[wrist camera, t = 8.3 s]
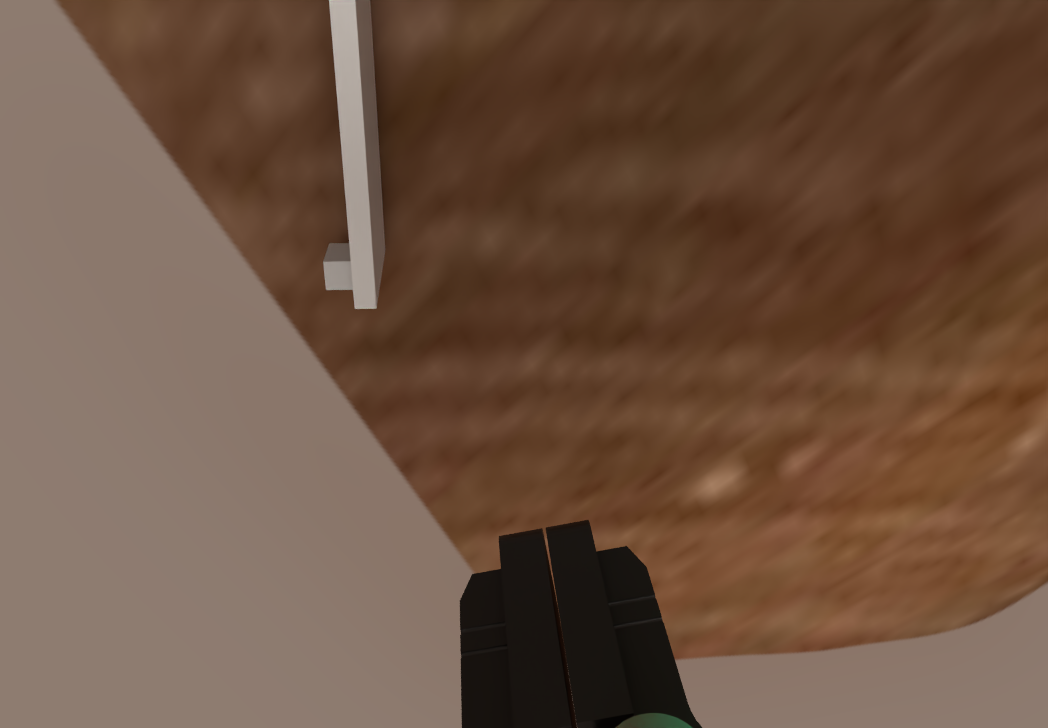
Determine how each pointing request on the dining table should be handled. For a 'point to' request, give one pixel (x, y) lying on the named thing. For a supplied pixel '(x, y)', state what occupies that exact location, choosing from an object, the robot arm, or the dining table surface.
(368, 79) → the side door
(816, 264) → the dining table surface
